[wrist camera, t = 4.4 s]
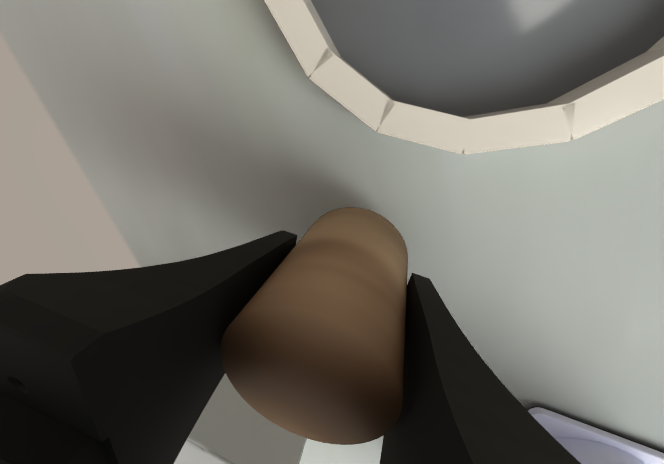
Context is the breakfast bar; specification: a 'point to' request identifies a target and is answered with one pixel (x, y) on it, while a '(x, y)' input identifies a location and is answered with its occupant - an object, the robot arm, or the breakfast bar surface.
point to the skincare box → (238, 434)
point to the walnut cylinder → (327, 332)
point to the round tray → (481, 65)
